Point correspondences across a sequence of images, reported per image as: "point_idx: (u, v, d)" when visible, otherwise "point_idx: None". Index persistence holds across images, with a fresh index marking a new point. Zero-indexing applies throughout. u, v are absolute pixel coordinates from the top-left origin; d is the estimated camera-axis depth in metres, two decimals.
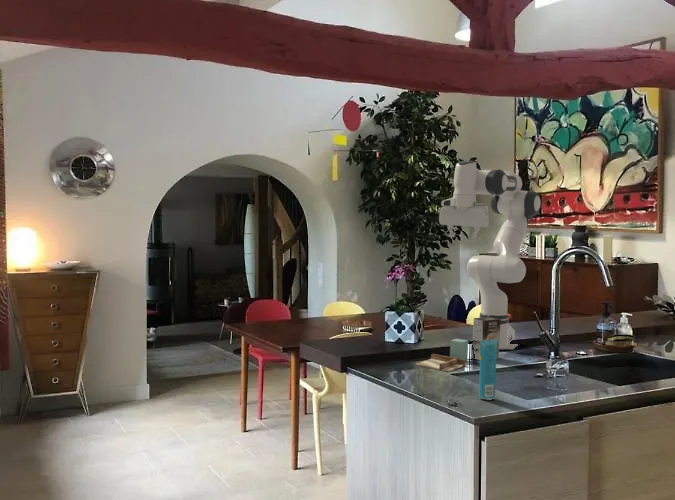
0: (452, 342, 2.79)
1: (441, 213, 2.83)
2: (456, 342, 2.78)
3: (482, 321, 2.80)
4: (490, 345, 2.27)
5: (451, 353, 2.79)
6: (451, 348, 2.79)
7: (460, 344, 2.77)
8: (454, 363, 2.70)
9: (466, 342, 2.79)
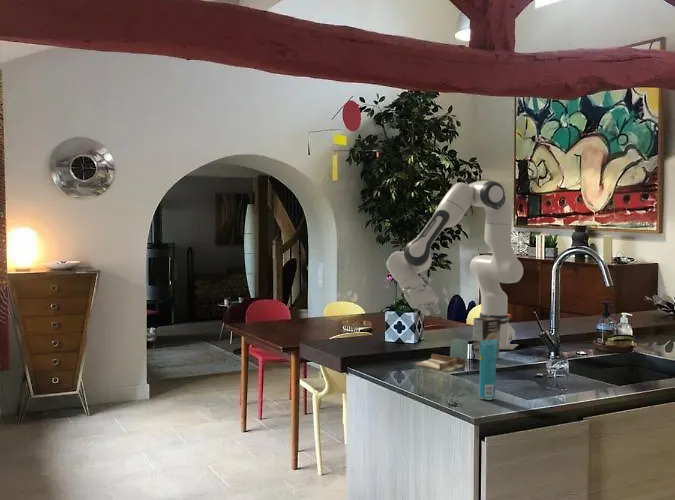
0: (452, 342, 2.79)
1: None
2: (456, 342, 2.78)
3: (482, 321, 2.80)
4: (490, 345, 2.27)
5: (451, 353, 2.79)
6: (451, 348, 2.79)
7: (460, 344, 2.77)
8: (454, 363, 2.70)
9: (466, 342, 2.79)
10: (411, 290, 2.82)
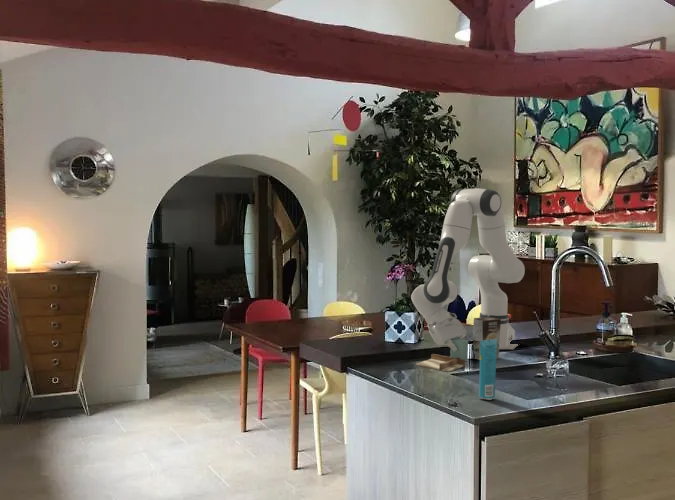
0: (452, 342, 2.79)
1: None
2: (456, 342, 2.78)
3: (482, 321, 2.80)
4: (490, 345, 2.27)
5: (451, 353, 2.79)
6: None
7: (460, 344, 2.77)
8: (454, 363, 2.70)
9: (466, 341, 2.79)
10: (436, 326, 2.77)
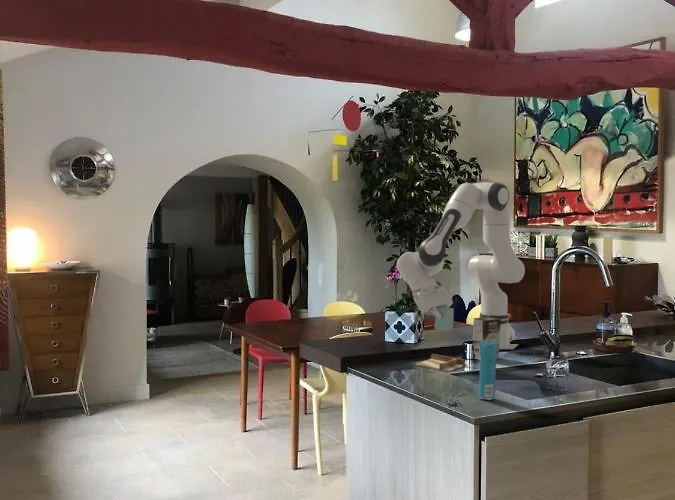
0: None
1: None
2: (441, 309, 2.69)
3: (482, 321, 2.80)
4: (490, 345, 2.27)
5: (436, 321, 2.70)
6: None
7: (445, 312, 2.68)
8: (454, 363, 2.70)
9: (451, 309, 2.70)
10: (421, 293, 2.68)
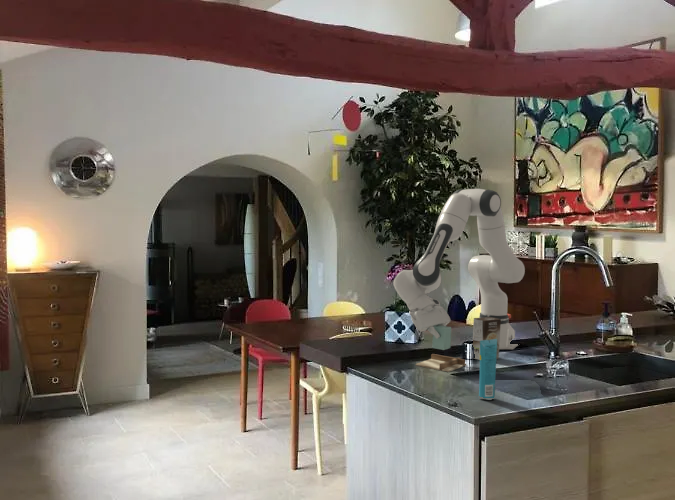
0: (435, 329, 2.69)
1: None
2: (439, 329, 2.68)
3: (482, 321, 2.80)
4: (490, 345, 2.27)
5: (433, 340, 2.70)
6: None
7: (443, 331, 2.67)
8: (454, 363, 2.70)
9: (449, 328, 2.69)
10: (418, 312, 2.67)
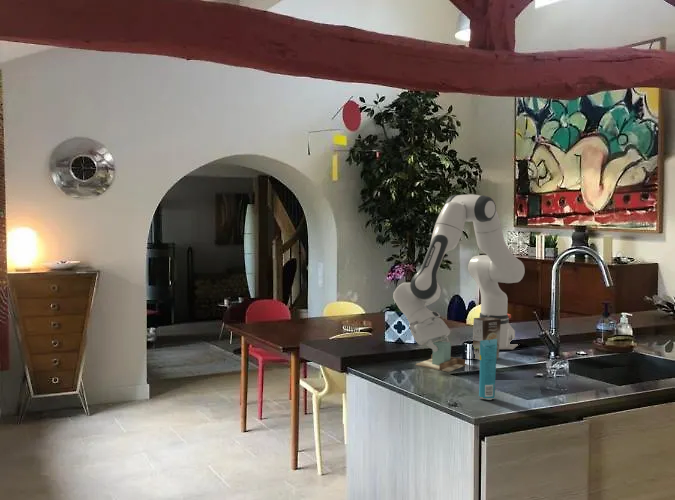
0: None
1: None
2: (438, 345, 2.69)
3: (482, 321, 2.80)
4: (490, 345, 2.27)
5: (433, 356, 2.70)
6: None
7: (442, 347, 2.68)
8: (454, 363, 2.70)
9: (448, 344, 2.70)
10: (418, 325, 2.68)
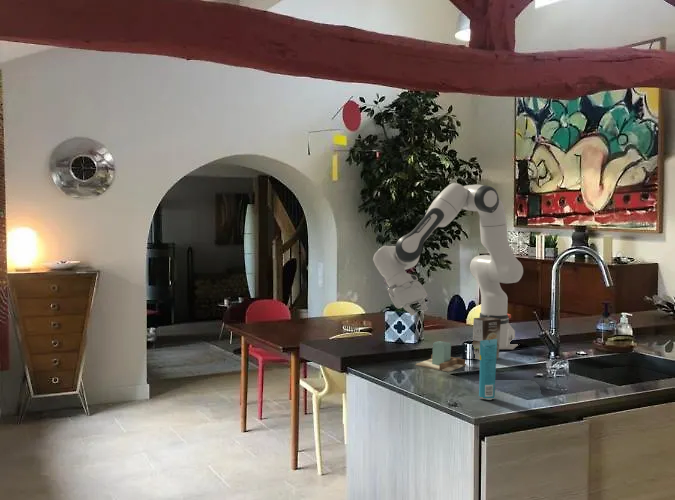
0: (434, 345, 2.70)
1: None
2: (438, 345, 2.69)
3: (482, 321, 2.80)
4: (490, 345, 2.27)
5: (433, 356, 2.70)
6: (433, 350, 2.70)
7: (442, 347, 2.68)
8: (454, 363, 2.70)
9: (448, 344, 2.70)
10: (396, 289, 2.74)
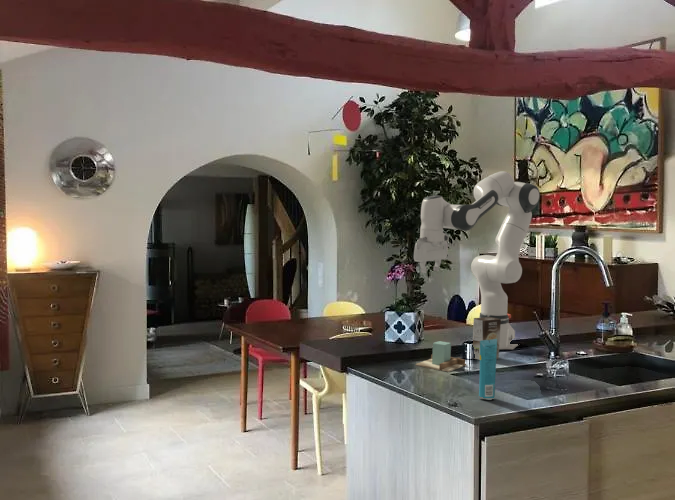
0: (434, 345, 2.70)
1: None
2: (438, 345, 2.69)
3: (482, 321, 2.80)
4: (490, 345, 2.27)
5: (433, 356, 2.70)
6: (433, 350, 2.70)
7: (442, 347, 2.68)
8: (454, 363, 2.70)
9: (448, 344, 2.70)
10: (424, 245, 2.74)
